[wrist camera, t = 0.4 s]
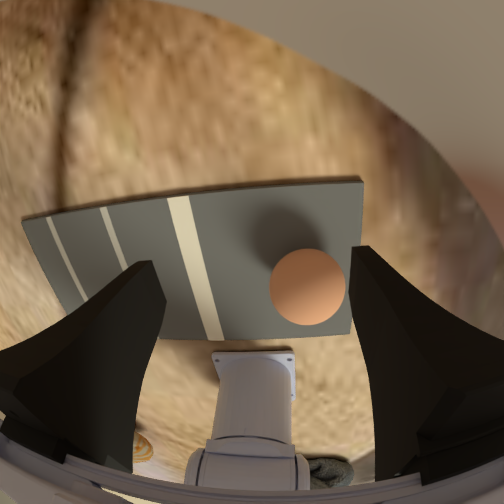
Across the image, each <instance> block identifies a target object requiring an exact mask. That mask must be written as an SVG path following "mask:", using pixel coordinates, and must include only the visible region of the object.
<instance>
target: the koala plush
mask: <svg viewBox="0 0 504 504" xmlns="http://www.w3.org/2000/svg"><path fill="white" fill-rule="evenodd" d="M307 461H308V464H309V470H310V490H313V489H326V488H336V487H345V486H349V484H350V483H351V481H352V480H353V476H354V470H353V468H352V466H351V465H350V464H349V463H347V462H340V461H338V460H335V459H327V458H325V459H324V458H320V459H315V460H307Z"/></svg>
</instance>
